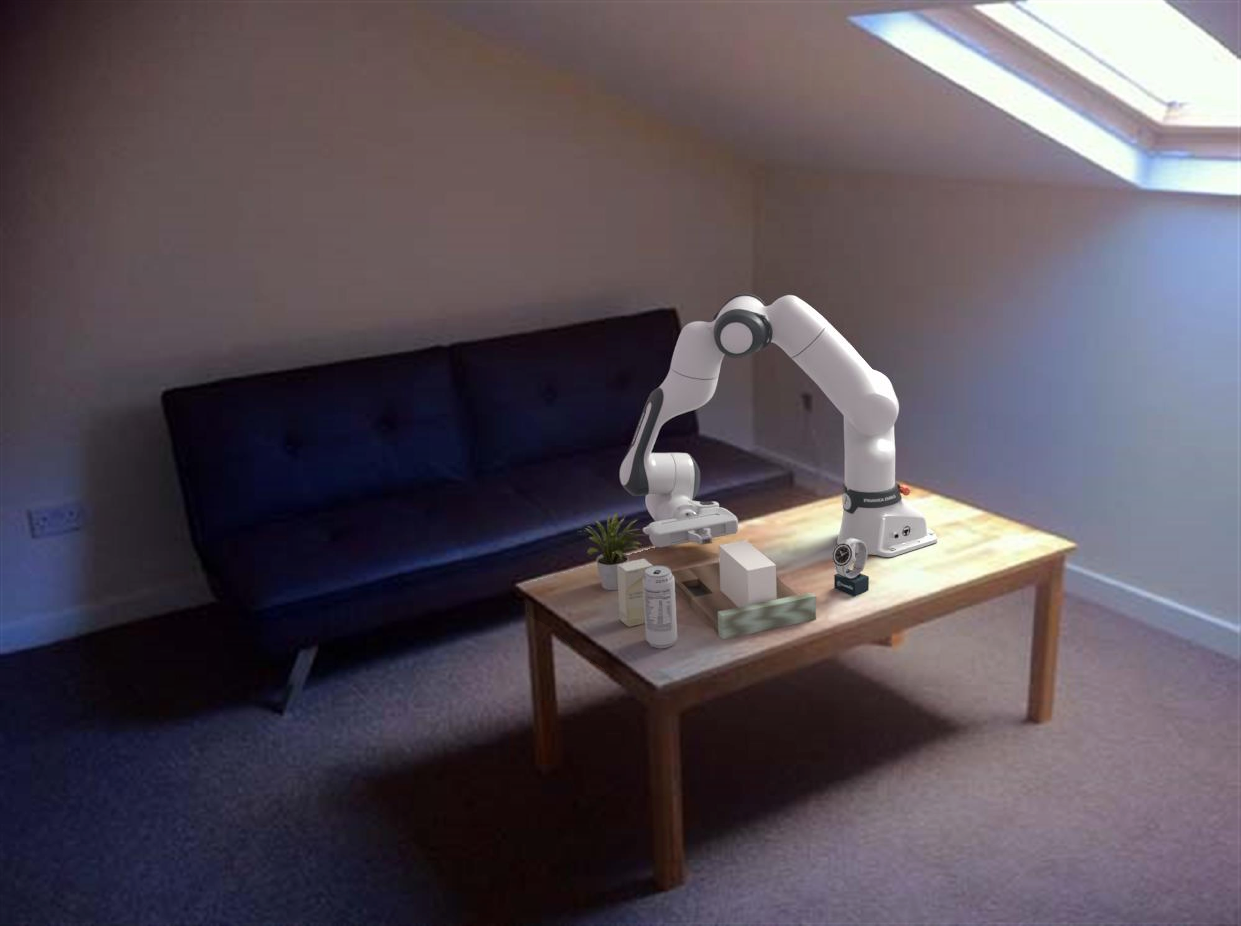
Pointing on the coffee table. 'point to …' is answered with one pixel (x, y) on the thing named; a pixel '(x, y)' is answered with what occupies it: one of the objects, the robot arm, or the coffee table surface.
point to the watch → (847, 578)
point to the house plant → (611, 550)
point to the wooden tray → (735, 621)
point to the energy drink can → (659, 606)
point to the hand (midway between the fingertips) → (706, 540)
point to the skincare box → (632, 591)
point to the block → (746, 574)
